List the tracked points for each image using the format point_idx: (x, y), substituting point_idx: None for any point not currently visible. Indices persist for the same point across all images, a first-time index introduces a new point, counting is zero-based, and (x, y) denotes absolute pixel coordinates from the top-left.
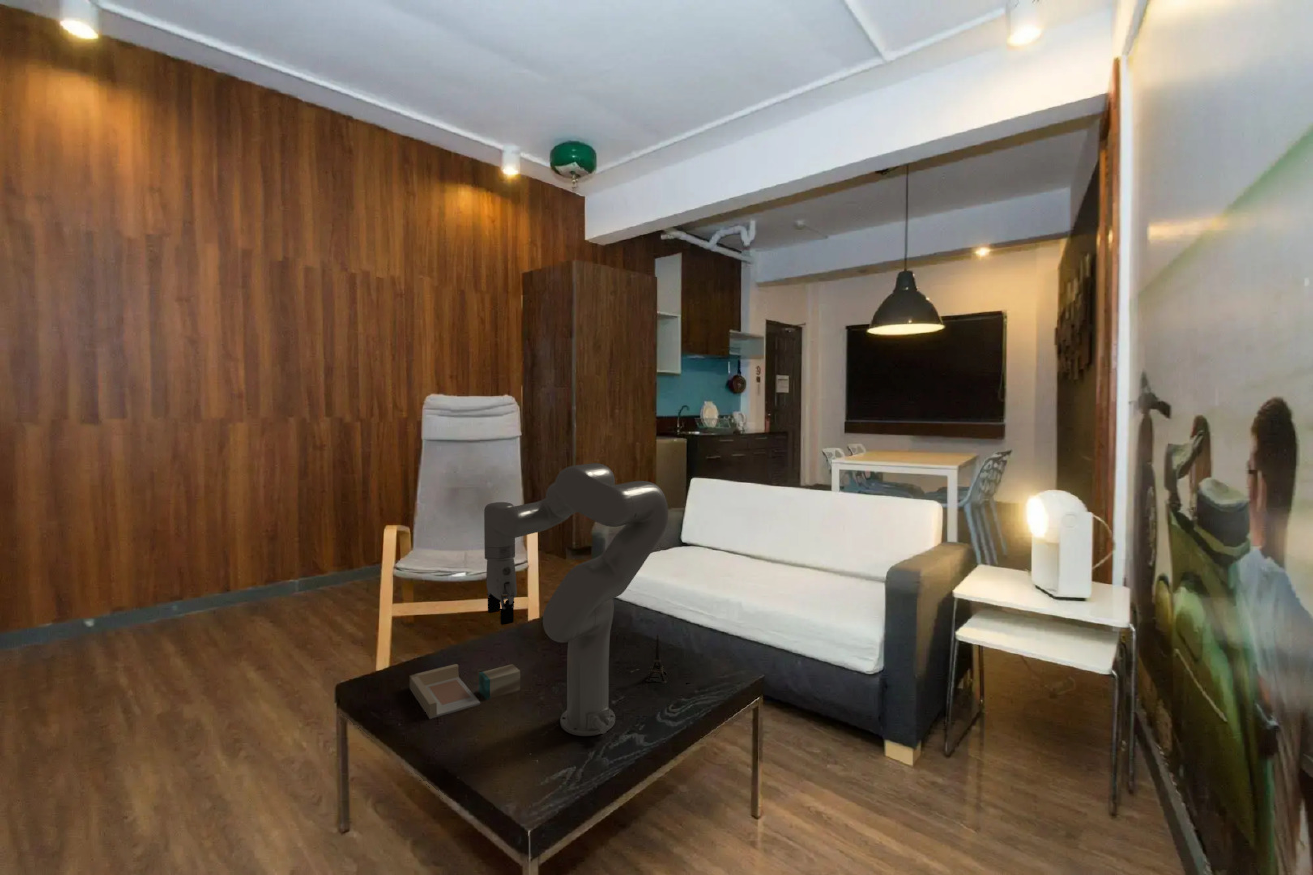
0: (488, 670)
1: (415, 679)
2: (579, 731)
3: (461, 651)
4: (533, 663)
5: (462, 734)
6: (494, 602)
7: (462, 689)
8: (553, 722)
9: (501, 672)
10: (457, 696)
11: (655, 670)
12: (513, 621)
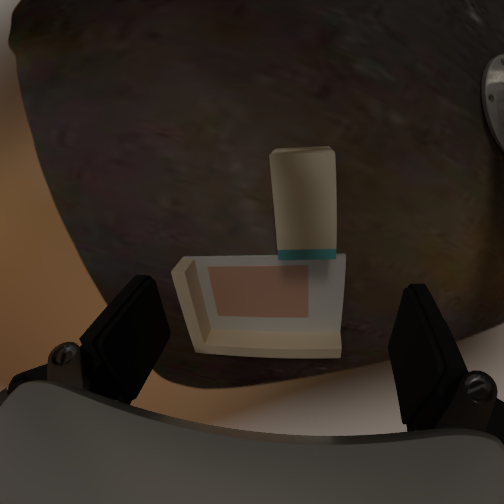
0: (277, 234)
1: (218, 351)
2: None
3: (76, 215)
4: (186, 67)
5: None
6: (133, 352)
7: (262, 269)
8: (492, 158)
9: (312, 206)
10: (290, 286)
11: None
12: (425, 285)
